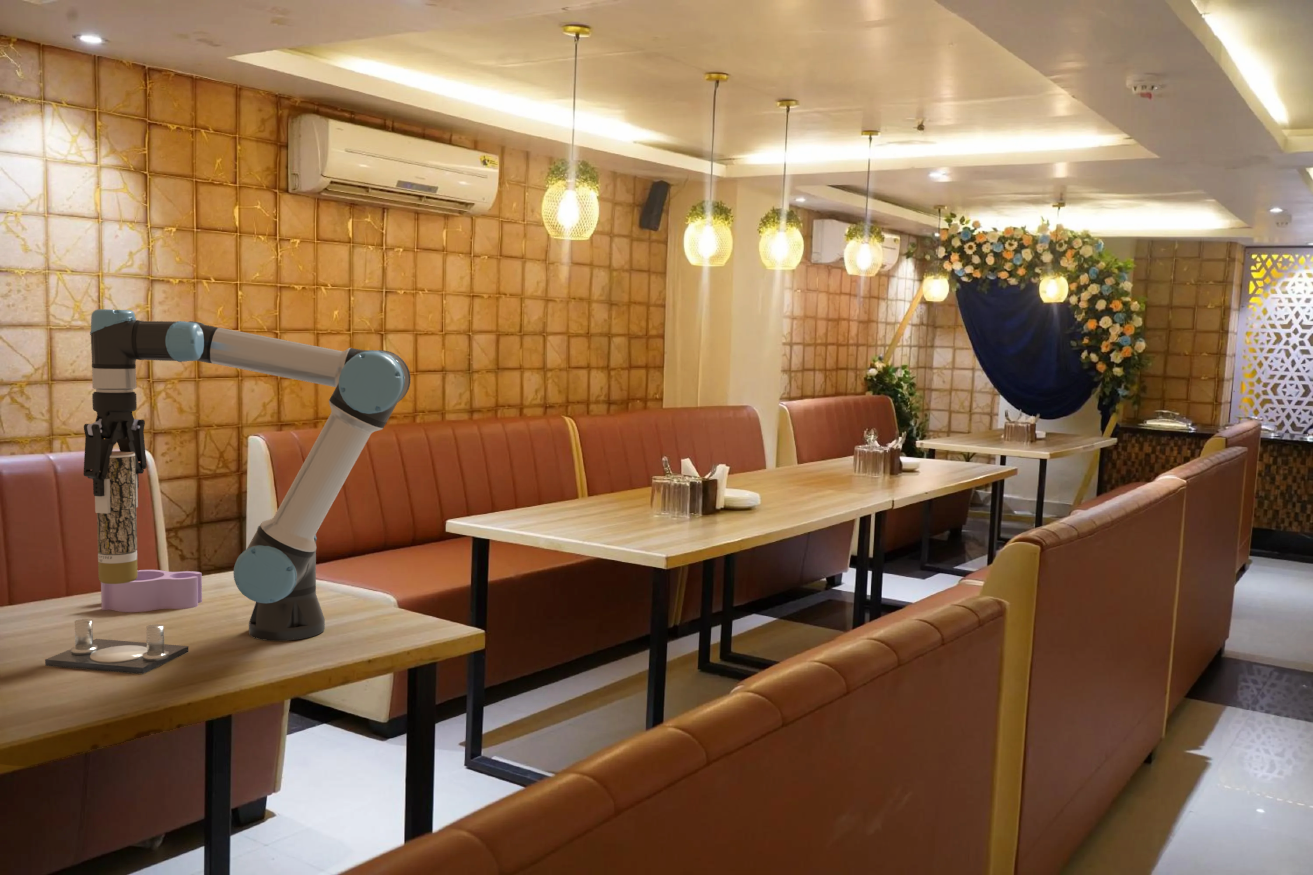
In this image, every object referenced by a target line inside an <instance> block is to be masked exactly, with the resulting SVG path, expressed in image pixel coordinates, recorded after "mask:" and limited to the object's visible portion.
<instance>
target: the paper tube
mask: <svg viewBox="0 0 1313 875" xmlns="http://www.w3.org/2000/svg"><path fill="white" fill-rule="evenodd" d="M99 472H100V471H99ZM105 479H110V513H108V514H106V513H96V526H97V527H96V530H97V531H96V533H97V562H98V563H97V564H98V566H97V568H98V569H97V570H98V580H99V582H100V583H101V582H102V583H105V584H121V583H128V582H132V581H134V580H136V578H137V576H138V573H137V570H138V531H137V530H138V525H137V524H138V523H137V522H138V521H137V519H138V518H137V517H138V516H137V507H136V463H135V452H121V451H120V450H114V451H113V450H112V454H111V455H110V463H109V467H108V471H107V476H106V478H105Z"/></svg>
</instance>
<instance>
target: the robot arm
mask: <svg viewBox="0 0 1313 875" xmlns="http://www.w3.org/2000/svg"><path fill="white" fill-rule="evenodd" d="M90 318H91V319H90V332H89V335H90V348H91V350H90V351H91V369H92V370H91V371H92V372H91V373H92V374H91V378H92V380H91V381H92V383H91V384H92V385H91V386H92V389H94V390H95V391H93V393H92V396H91V397H92V398H91V399H92V400H91V401H92V410H93V411H94V412H96V418H95V421H94V422H92V423H84V425H83V431H84V436H85V437H84V438H85V441H84V454H83V455H84V459H83V460H84V462H83V476H84V477H85V478H86V477H87V478H88V479H92V485H93V486H92V489H93V497H94V511H95V512H94V513H96V514H97V513H106V514H108V513H110V479H105V478H106V476H107V471H108V467H109V463H110V455H111V454H112V451H113V448H114V446H115V445H117V444H118V445H117V446H118V449H119V451H121V452H135V463H136V508H139V501H138V500H139V493H138V492H139V485H140V484H139V475H142V474H144V472H145V470H146V469H147V467H148V466H147V456H146V444H145V443H146V442H145V433H144V431H145V425H146V424H145V422H146V421H145V420H144V419H138V418H135V417H134V415H133V412H135V411H136V410H137V409H138V408H137V406H138V405H137V403H138V402H137V393H136V392H135V391H134V390H135V389H137V364H136V363H137V362H136V361H160V362H161V361H162V362H167V361H168V362H179V363H182V362H183V363H184V362H195V361H196V362H200V363H201V362H202V363H207V364H213V365H217V366H218V365H219V366H224V367H227V368H234V369H238V370H245V371H250V372H254V373H261V374H266V375H271V376H276V377H281V378H286V379H292V380H297V381H302V382H305V383H306V382H308V383H313V384H318V385H323V386H328V387H331V388H332V387H333V388H334V390H333V392H332V394H331V395H330V398H329V399H328V403H329V407H330V410H331V412H330V414H329V416H328V418H327V420H326V422H325V423H324V425H323V427H322V429H321V430H320V433H319V434H318V436H317V438H316V440H315V442H314V443H313V445H312V447H311V449H310V451H309V453H308V454H307V456H306V458H305V460H304V462H303V463H302V465H301V467H300V469H299V471H298V472H297V475H295V478H294V480H293V481H292V483H291V485H290V487H289V489H288V490H287V492H286V494H285V496H284V497H283V499H282V502H281V503H280V505H279V506H278V508H277V511H276V512H275V514H274V516H273V517H272V518H270V519H267V520H263V521H262V522H260V524H259V525H258V526H257V528H256V532H254V535H253V537H252V539H251V541H250V543H249V544H248V546H247V548H245V550H243V551H241V552H242V553H240V554H239V555H238V557H237V558H236V561H235V564H234V567H233V580H234V583H235V585H236V587H237V589H238V591H239V592H240V594H242V595H243V596H244V597H245V598H247V599H249V600H250V601H252V602H254V603H255V604H254V607H253V610H252V613H251V616H250V617H249V619H250V620H249V622H248V635H249V636H250V637H252V638H254V639H256V640H262V641H273V642H275V641H276V642H277V641H279V642H281V641H282V642H283V641H296V640H302V639H303V640H304V639H307V638H311V637H315V636H318V635H320V634H321V633H323V632H324V631H325V628H326V627H325V626H326V623H325V621H326V620H325V619H326V618H325V616H324V614H323V611H322V610H323V609H322V607H321V605H320V601H319V599H318V596H317V589H316V588H317V563H316V562H317V554H316V553H317V532H318V531H319V528H320V527H321V525H322V524H323V522H324V520H325V518H326V516H327V514H328V513H329V511H330V509H331V507H332V505H333V503H334V501H335V500H336V499H337V497H338V495H339V492H340V491H341V489H342V487H343V486H344V484H345V482H346V480H347V478H348V476H349V475H350V473H351V471H352V469H353V467H354V466H355V464H356V462H357V460H358V459H359V457H360V455H361V453H362V451H363V449H364V448H365V446H366V444H367V442H368V441H369V439H370V437H371V435H372V434H373V433H374V432H377V431H382V430H384V428H385V426H386V424H387V423H388V421H389V419H390V417H391V415H392V414H393V412H394V411H395V408H396V406H397V405H398V403H399V402H401V401H402V400H403V399H404V397H406V395H407V393H408V391H409V389H410V386H411V371H410V369H409V367H408V365H407V363H406V362H405V360H403V358H401V356H399V355H398V354H396V353H394V352H392V351H388V350H383V349H382V350H381V349H378V350H373V349H371V350H370V349H369V350H365V349H360V348H359V349H358V348H353V347H349V348H347V349H345V350H338V349H333V348H327V347H323V346H316V345H311V344H307V343H301V342H298V341H291V340H287V339H286V340H285V339H280V338H276V337H275V338H274V337H270V336H265V335H261V334H260V335H259V334H256V333H255V334H254V333H251V332H250V333H249V332H246V331H245V332H244V331H240V330H233V329H228V328H223V327H217V326H213V325H207V324H204V323H203V322H198V321H194V320H193V321H191V320H190V321H185V320H184V321H183V320H179V321H176V320H175V321H171V320H170V321H169V320H168V321H165V320H164V321H163V320H161V321H160V320H156V321H155V320H153V321H152V320H147V321H146V320H139V319H137V318H136V315H135V311H133V310H131V309H104V308H103V309H101V308H99V309H95V310H93V311H92V312H91V317H90ZM99 471H100V472H99Z"/></svg>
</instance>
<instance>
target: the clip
mask: <svg viewBox="0 0 1313 875" xmlns="http://www.w3.org/2000/svg"><path fill="white" fill-rule="evenodd" d="M137 573H138V576H137V578H136V580H134V581H132V582H128V583H121V584H105V583H102V582H100V592H101V593H100V596H101V599H100V600H101V601H100V602H101V611H106V610H107V611H108V610H112V611H116V612H123V613H138V612H139V613H143V612H151V611H155V610H156V611H157V610H165V609H166V610H167V609H172V610H181V609H182V610H183V609H184V610H185V609H191V608H197V607H198V606H199V603H203V581H202V580H203V576H202V575H203V574H202V572H200V571H192V570H191V571H189V570H184V571H167V570H161V569H160V570H159V569H140V570H138V569H137Z"/></svg>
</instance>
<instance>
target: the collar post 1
mask: <svg viewBox="0 0 1313 875" xmlns="http://www.w3.org/2000/svg"><path fill="white" fill-rule="evenodd" d="M93 621H94V620H93V618H92V619H91V618H81V619H77V620H74V646H73V647H71V648H70V649H71V654H73V655H87V654H92V653H93V652H95V651H97V645H94V644H93V640H94V631H93V626H94V625H93Z"/></svg>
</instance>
